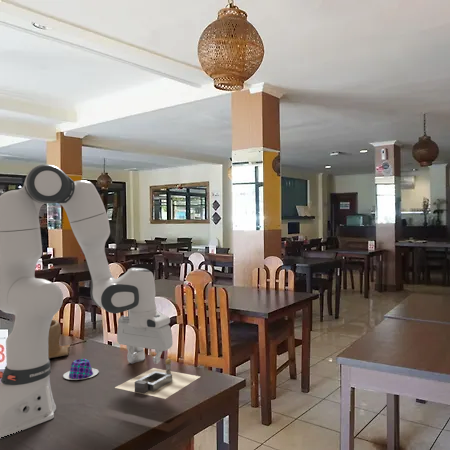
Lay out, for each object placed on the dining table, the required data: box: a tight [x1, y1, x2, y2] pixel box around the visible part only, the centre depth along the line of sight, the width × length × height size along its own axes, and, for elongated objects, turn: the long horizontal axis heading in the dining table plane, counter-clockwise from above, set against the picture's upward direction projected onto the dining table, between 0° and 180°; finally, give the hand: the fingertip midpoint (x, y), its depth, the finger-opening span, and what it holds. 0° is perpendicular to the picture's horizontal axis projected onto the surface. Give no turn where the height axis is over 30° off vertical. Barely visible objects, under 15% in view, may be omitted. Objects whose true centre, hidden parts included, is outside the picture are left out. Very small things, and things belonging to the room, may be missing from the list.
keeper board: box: [114, 358, 201, 400], centre depth 145 cm, size 20×20×8 cm
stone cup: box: [48, 319, 71, 359], centre depth 178 cm, size 15×12×15 cm
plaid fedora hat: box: [62, 358, 100, 381], centre depth 157 cm, size 12×12×5 cm
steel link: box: [137, 371, 172, 392], centre depth 143 cm, size 10×7×2 cm
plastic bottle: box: [127, 346, 146, 365], centre depth 168 cm, size 6×7×20 cm
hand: (144, 360), depth 143 cm, fingers open, 8 cm apart
